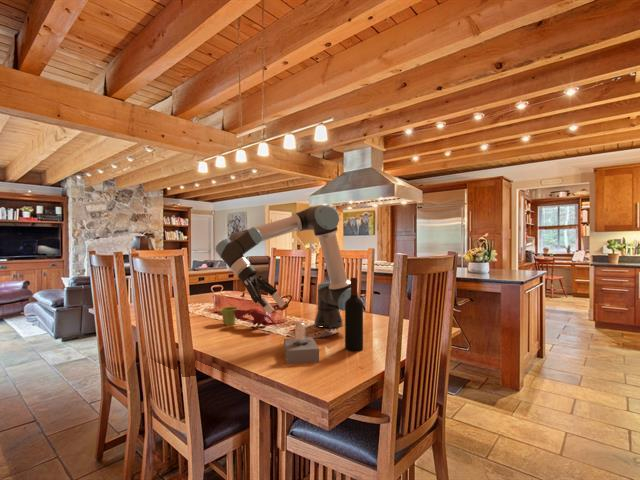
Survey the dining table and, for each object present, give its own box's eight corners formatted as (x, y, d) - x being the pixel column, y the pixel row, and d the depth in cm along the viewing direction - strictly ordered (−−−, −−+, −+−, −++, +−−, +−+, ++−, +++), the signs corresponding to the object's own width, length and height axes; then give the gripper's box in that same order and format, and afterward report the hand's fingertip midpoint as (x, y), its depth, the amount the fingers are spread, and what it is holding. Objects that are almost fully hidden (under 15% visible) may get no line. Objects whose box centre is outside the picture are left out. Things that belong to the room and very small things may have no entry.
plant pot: (218, 326, 185) (218, 310, 185) (223, 322, 194) (223, 306, 194) (235, 326, 185) (235, 310, 185) (239, 322, 194) (239, 306, 194)
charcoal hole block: (312, 348, 147) (312, 337, 147) (319, 362, 131) (319, 348, 131) (283, 350, 144) (283, 338, 144) (287, 364, 129) (287, 350, 129)
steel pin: (304, 351, 140) (304, 321, 140) (306, 354, 136) (305, 324, 136) (294, 351, 139) (294, 322, 139) (295, 355, 135) (295, 324, 135)
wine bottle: (341, 348, 147) (341, 278, 147) (352, 344, 152) (352, 276, 152) (355, 352, 142) (355, 279, 142) (366, 348, 147) (366, 277, 147)
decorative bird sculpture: (240, 331, 190) (225, 315, 182) (249, 318, 196) (235, 301, 187) (279, 340, 174) (265, 322, 165) (288, 325, 179) (274, 307, 171)
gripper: (251, 273, 157) (282, 308, 153) (223, 280, 133) (259, 321, 129) (262, 262, 156) (293, 297, 152) (235, 266, 131) (272, 308, 128)
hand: (277, 308), depth 141 cm, fingers open, 13 cm apart
